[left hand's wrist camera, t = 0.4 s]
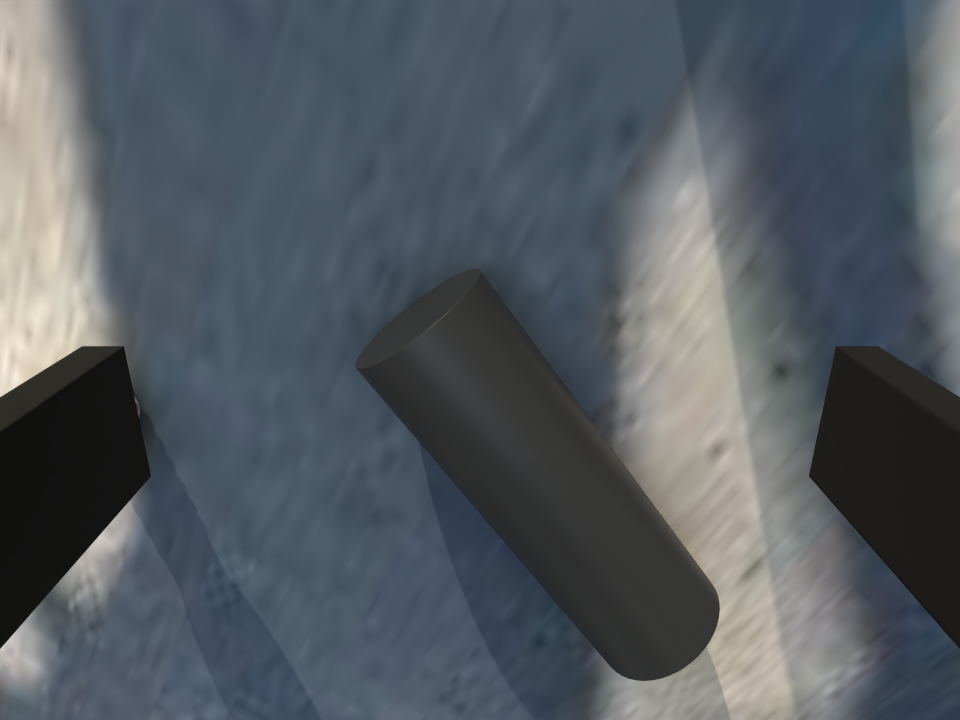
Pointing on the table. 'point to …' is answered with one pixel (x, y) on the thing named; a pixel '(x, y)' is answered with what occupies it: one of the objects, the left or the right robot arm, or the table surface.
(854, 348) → the left robot arm
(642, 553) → the rod
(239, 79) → the table surface
